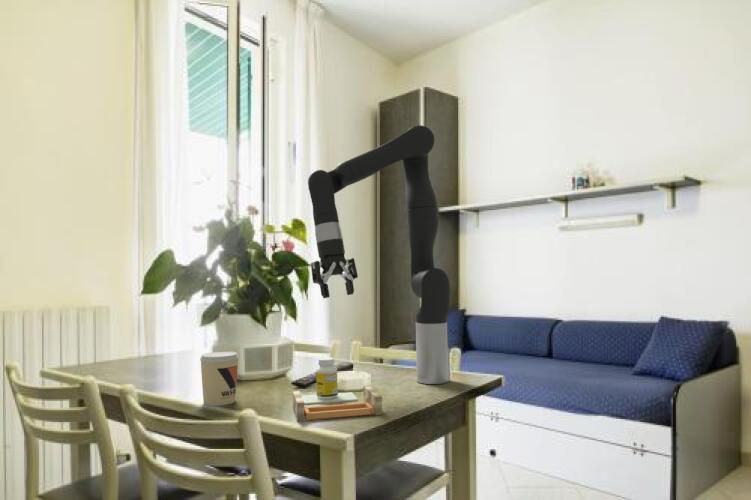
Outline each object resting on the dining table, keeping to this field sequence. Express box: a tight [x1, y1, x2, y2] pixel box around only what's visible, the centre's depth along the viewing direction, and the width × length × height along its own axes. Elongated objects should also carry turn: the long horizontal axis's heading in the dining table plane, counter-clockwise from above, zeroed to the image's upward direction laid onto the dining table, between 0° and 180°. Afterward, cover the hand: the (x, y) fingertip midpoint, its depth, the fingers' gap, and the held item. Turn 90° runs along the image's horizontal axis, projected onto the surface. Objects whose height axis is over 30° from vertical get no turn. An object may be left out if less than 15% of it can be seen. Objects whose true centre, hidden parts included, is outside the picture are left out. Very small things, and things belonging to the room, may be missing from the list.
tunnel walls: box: [291, 385, 383, 423], centre depth 120 cm, size 12×19×4 cm, turn 104°
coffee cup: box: [199, 351, 239, 407], centre depth 131 cm, size 9×9×12 cm
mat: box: [301, 391, 359, 406], centre depth 132 cm, size 8×14×1 cm, turn 104°
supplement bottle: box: [315, 357, 339, 399], centre depth 133 cm, size 5×5×10 cm
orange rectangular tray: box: [304, 402, 374, 422], centre depth 117 cm, size 6×15×2 cm, turn 104°
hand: (338, 296), depth 146 cm, fingers open, 8 cm apart
